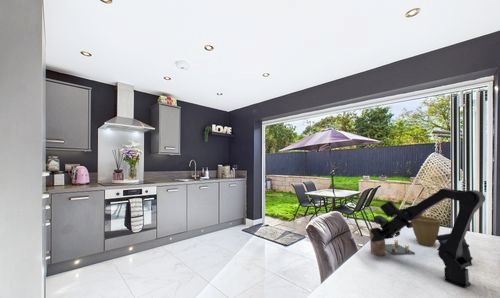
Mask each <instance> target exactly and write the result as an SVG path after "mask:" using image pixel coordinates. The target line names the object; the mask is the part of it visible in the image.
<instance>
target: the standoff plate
mask: <svg viewBox="0 0 500 298" xmlns="http://www.w3.org/2000/svg"><path fill="white" fill-rule="evenodd" d="M409 248H410V247H409V245H407V244H405V245H404V246H402V245H400V244H399V240H398V239H395V240H394V243H390V244H389V243H387V244H386V243H385V252H386V253H389V254H390V255H393V256H394V255H395V256H396V255H399V256H403V255H404V256H407V255H413V256H414V255H416V252H415V251H412V249H411V250H410V249H409Z"/></svg>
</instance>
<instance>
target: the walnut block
mask: <svg viewBox="0 0 500 298" xmlns="http://www.w3.org/2000/svg"><path fill="white" fill-rule="evenodd" d="M371 229H372V228H370V229H369V237H370V238H369V239H370V253H371V254H373V255H376V256H378V257H382V256H384V255H386V251H385V244H386V239H384V240H382V241H375V242H372V238H373V236H374V235H373V234H372V232H371ZM379 229H380V230H381V229H382V228H379Z"/></svg>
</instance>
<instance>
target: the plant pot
mask: <svg viewBox="0 0 500 298" xmlns="http://www.w3.org/2000/svg"><path fill="white" fill-rule="evenodd" d="M410 222H412V231H413V233H414V236H415V239H416V240H417V243H418V244H419V245H421V246H425V247H434V246H435V244H436V241H437V240H436V238H437V237H436V236H438V235H439V233H440V228H441V227H440V226H441V220H440V219H438V218H434V217H429V216H422V215H421V216H420V217H419V218H418V219H415V220H410Z"/></svg>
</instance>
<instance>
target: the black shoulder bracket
mask: <svg viewBox="0 0 500 298" xmlns="http://www.w3.org/2000/svg"><path fill="white" fill-rule="evenodd" d="M450 234H451V232H450V233H446V234H445V233H444V234H438V236H436V237H437V238H436V241H438V243H439V244H440V242H441V241H444V240H448V239H449V236H450ZM469 247H470V245H469V244H468V243H467V240H466V239H465V237H464V240H463V242H462V249H463V251H462V256H463V257H464V258H465V259H466V260H467V261H468V262H469V263H470V264H469V266H471V265H472V263H473V262H472V260H473V257H472V256H471V251H470V248H469ZM469 266H468V267H469Z"/></svg>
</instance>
